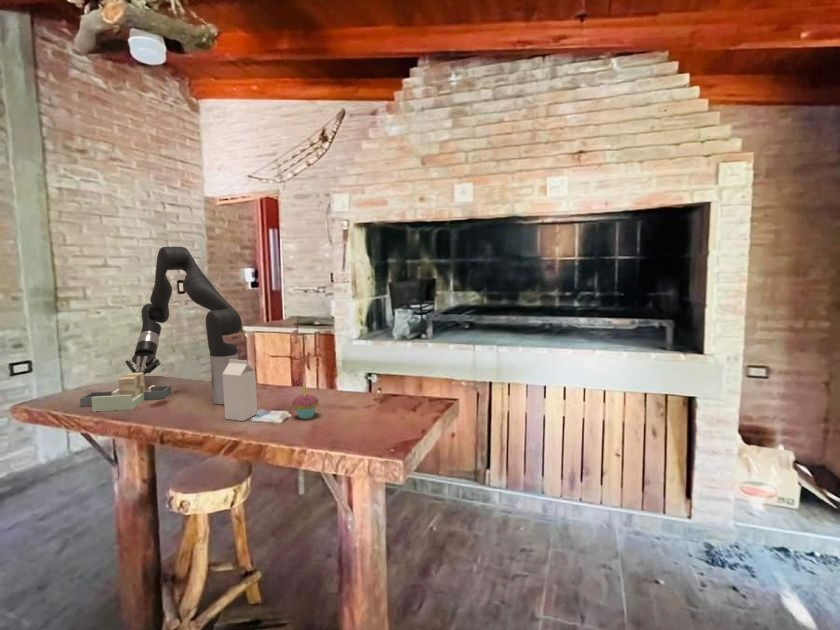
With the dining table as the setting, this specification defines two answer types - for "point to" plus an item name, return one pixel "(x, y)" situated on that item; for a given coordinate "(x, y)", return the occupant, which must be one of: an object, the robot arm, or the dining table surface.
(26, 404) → the dining table surface
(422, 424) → the dining table surface
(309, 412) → the cupcake
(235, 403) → the milk carton
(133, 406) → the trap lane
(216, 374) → the robot arm
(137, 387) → the beech block
